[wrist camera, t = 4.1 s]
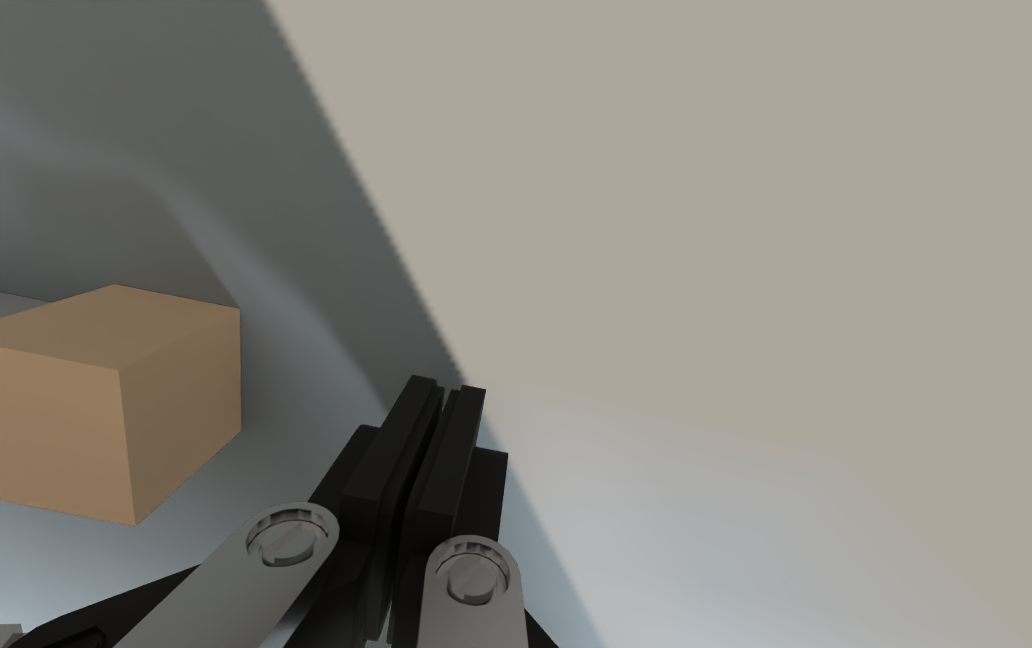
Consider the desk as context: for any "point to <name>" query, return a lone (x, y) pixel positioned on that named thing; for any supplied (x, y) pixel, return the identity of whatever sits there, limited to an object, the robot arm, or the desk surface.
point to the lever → (113, 398)
